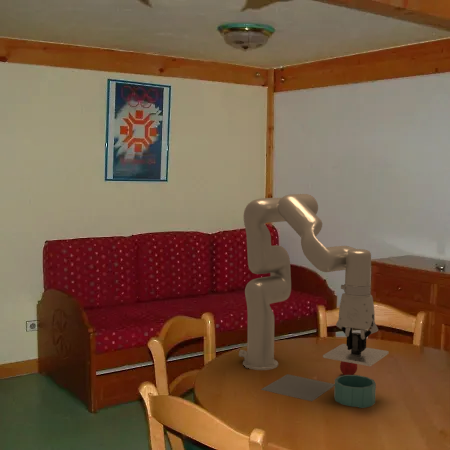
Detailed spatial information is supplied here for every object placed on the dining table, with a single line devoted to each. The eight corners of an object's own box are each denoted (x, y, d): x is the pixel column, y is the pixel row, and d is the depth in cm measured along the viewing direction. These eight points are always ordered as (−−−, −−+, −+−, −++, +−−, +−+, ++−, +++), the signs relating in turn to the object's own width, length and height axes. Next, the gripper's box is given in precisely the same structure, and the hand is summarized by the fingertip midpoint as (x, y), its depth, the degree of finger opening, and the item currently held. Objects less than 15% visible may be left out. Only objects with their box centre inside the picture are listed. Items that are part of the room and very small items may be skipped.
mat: (260, 390, 208) (260, 389, 208) (287, 375, 223) (287, 374, 223) (311, 402, 198) (311, 401, 198) (336, 385, 213) (336, 384, 213)
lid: (322, 357, 196) (323, 335, 195) (342, 346, 209) (343, 325, 208) (370, 366, 188) (371, 343, 187) (388, 353, 200) (389, 332, 200)
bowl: (328, 402, 198) (328, 383, 197) (344, 390, 208) (344, 372, 207) (365, 410, 191) (366, 391, 191) (380, 398, 201) (380, 379, 201)
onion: (357, 380, 218) (357, 357, 217) (339, 379, 219) (340, 356, 218) (357, 375, 223) (357, 352, 222) (340, 373, 224) (340, 351, 224)
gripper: (327, 289, 198) (326, 348, 199) (379, 295, 189) (377, 357, 190) (337, 285, 204) (336, 342, 206) (388, 291, 195) (386, 351, 197)
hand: (356, 349), depth 198 cm, fingers closed on lid, 3 cm apart
